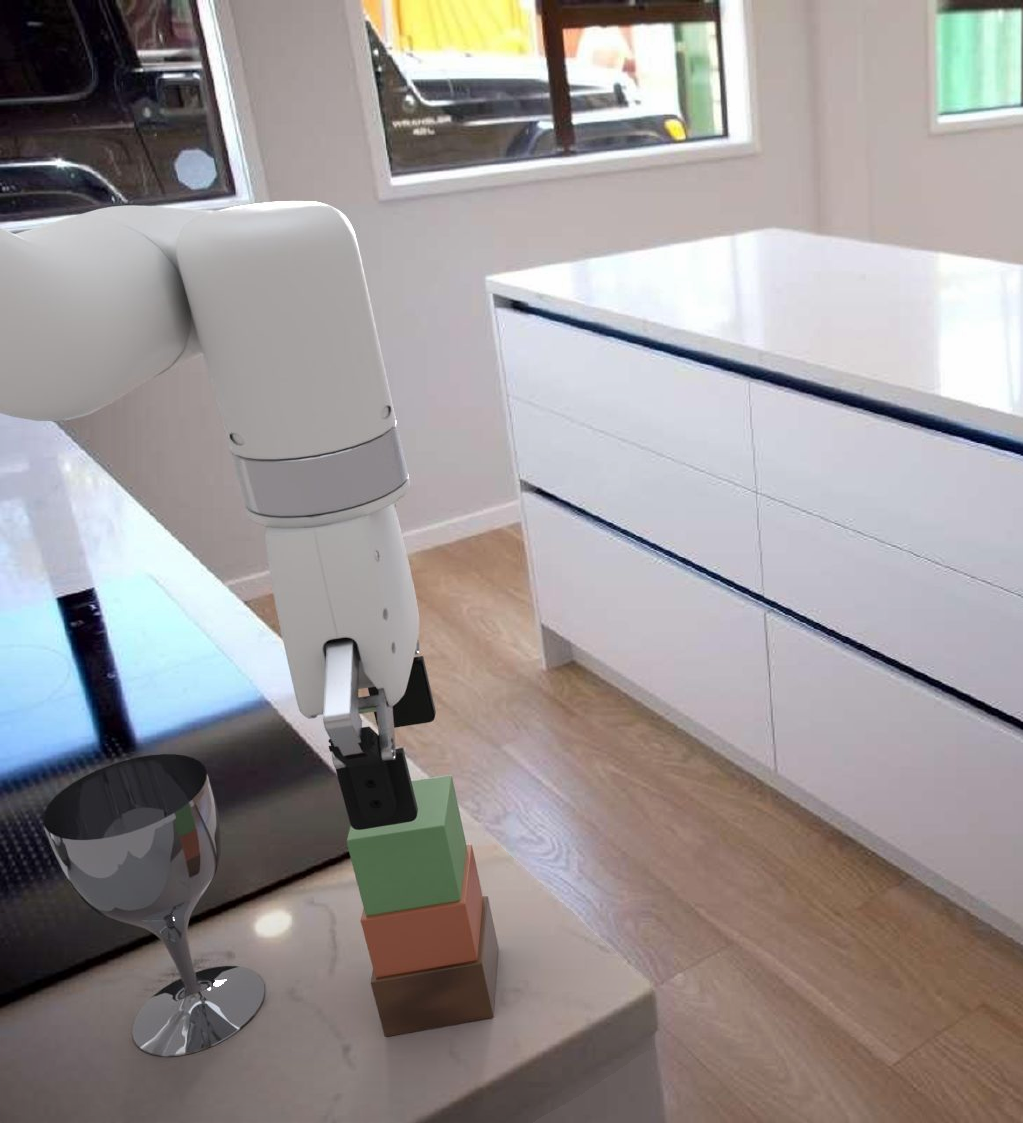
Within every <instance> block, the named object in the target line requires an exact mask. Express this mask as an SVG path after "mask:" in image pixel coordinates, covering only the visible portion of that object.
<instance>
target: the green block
mask: <svg viewBox="0 0 1023 1123" xmlns="http://www.w3.org/2000/svg"><path fill="white" fill-rule="evenodd" d="M453 780H454V779H453V776H452V775H451V774H447V775H442V776H434V777H429V778H422V779H414V780H411V782H412V786H413V790H414V794H415V798H416V802H417V806H418V813H417V817H416V819H415V820H414V821H411V822H406V823H400V824H394V825H388V826H381V827H375V828H369V829H363V830H356V829H354V828H352V827H351V825H350V826H349V829H348V830H349V831H348V834H347V838H346V845H347V849H348V853H349V857H350V861H351V864H352V865H351V866H352V868H353V872H354V876H355V879H356V884H357V887H358V891H359V895H360V899H361V903H362V907H363V908H364V911H365V915H366V916H371V915H377V914H383V913H389V912H396V911H402V910H408V909H414V908H420V907H426V906H432V905H438V904H444V903H450V902H456V901H460V900H461V892H462V883H463V875H464V866H465V857H466V849H467V845H468V844H467V840H466V837H465V832H464V826H463V822H462V818H461V812H460V808H459V803H458V798H457V794H456V788H455V785H454V781H453Z"/></svg>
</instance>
